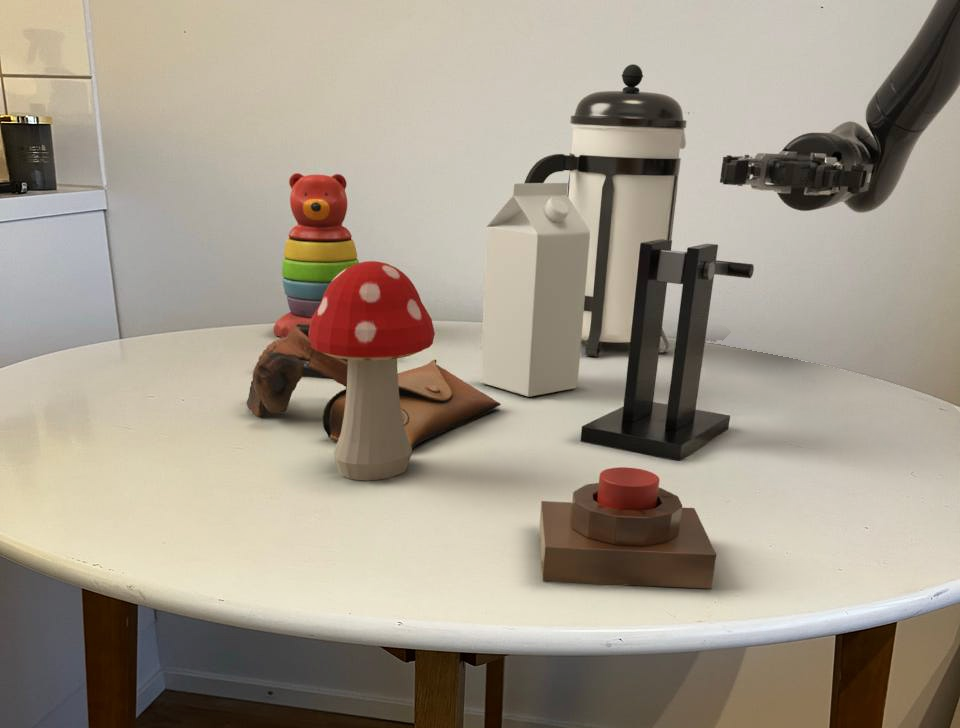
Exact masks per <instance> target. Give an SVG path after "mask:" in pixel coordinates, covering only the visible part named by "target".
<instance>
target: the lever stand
mask: <svg viewBox="0 0 960 728" xmlns="http://www.w3.org/2000/svg"><path fill="white" fill-rule="evenodd" d="M672 245H673V240H672V239H671V240H665V239H660V240H654V241H649V242H643V243H640V252H639V262H638V272H637V281H636V291H635V301H634V310H633V320H632V329H631V339H630V342H629V348H628V349H629V350H628V359H627V368H626V369H627V370H626V379H625V389H624V396H623V397H624V398H623V406H621V407H619V408H617V409H616V410H613V411H611V412H609V413H607V414H604V415H603V416H600V417H598V418H597V419H594V420H591V421H590V422H588V423H586V424H584V425H581V430H580V431H581V433H580V442H583V443H584V442H585V443H588V444H593V445H599V446H604V447H609V448H614V449H618V450H623V451H627V452H633V453H638V454H644V455H649V456H654V457H657V458H663V459H668V460H672V461H673V460H674V461H681V460H683V459H684V458H686V457H688V456H689V455H690V454H692V453H694V452H695V451H697V450H698V449H700V448H702V447H703V446H704V445H706V444H708V443H709V442H711V441H713V440H714V439H716V438H717V437H719V436H721V435H722V434H723V433H725V432H726V431H728V430H729V427H730V421H731V415H729V414H724V413H718V412H713V411H707V410H702V409H697V404H698V403H697V402H698V396H699V395H698V394H699V388H700V380H701V374H702V373H701V372H702V366H703V361H704V360H703V359H704V353H705V352H704V350H705V344H706V337H707V331H708V323H709V315H710V307H711V300H712V293H713V286H714V279H715V275H714V272H715V265H716V260H717V257H718V251H719V244H716V243H703V244H699V245H694V246H689V247H687V248H686V252H687V255H686V263H685V271H684V279H683V284H682V286H681V287H682V289H681V296H680V303H679V313H678V321H677V329H676V336H675V337H676V338H675V344H674V352H673V360H672V362H673V363H672V369H671V376H670V385H669V392H668V393H669V394H668V401H667V404H666V403H662V402H655V401H654V399H655V391H656V390H655V389H656V382H657V381H656V380H657V373H658V364H659V356H660V353H659V349H661V341H662V337H661V331H662V329H663V322H664V313H665V304H666V296H667V287H668V283H666V282H658V281H656V278H657V271H658V264H659V257H660V251H661V250H670V251H672Z"/></svg>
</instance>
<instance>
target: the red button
mask: <svg viewBox="0 0 960 728" xmlns="http://www.w3.org/2000/svg"><path fill="white" fill-rule="evenodd" d="M598 483H599V486H598V497H597V502H598V503H600V504H601V505H603V506H606V507H610V508H614V509H619V510H633V511H642V510H648V509H654V508H655V507H656V505H657V497H658V489H659V488H660V477H659V476H658V475H657V474H656V473H654V472H652V471H649V470H646V469H642V468H637V467H627V466H626V467H625V466H624V467H620V466H619V467H611V468H607V469H604V470H602V471H600V472H599V477H598Z"/></svg>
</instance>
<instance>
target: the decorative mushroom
mask: <svg viewBox="0 0 960 728" xmlns="http://www.w3.org/2000/svg"><path fill="white" fill-rule="evenodd" d="M308 334H309V339H310V344H311V347H312V348H313V349H315V350H317V351H319V352H322V353H324V354H326V355H329V356H332V357H336V358H341V359H348V371H347V391H346V403H345V411H344V418H343V424H342V430H341V434H340V437H339V440H338V441H337V443H336V446H335V448H334V451H333V459H334V461H335V464H336V467H337V470H338V473H339V474H340V475H341V476H342V477H344V478H346V479H350V480H356V481H376V480H384V479H385V480H386V479H390V478H393V477H395V476H399V475H401V474H403V473H404V472H405V471H406V470H407V469H408V466H409V463H410V459H411V456H412V454H413V448H411V445H410V442H409V440H408V437H407V435H406V432H405V429H404V424H403V419H402V413H401V406H400V398H399V387H398V373H399V372H398V359H403V358H406V357H410V356H413V355H416V354H418V353H420V352H421V353H422V351H425V350H427V349H429V348H431V346H432V345H433V344H434V339H435V335H436V332H435V328H434V324H433V319H432V317H431V315H430V314H429V312H428V311H427V309H426V307H425V305H424V304H423V302H422V300H421V297H420V294H419V292H418V290H417V288H416V287H415V284H414V283H413V282H412V280H411V279H410V278H409V277H408V276H407V275H406V274H405V273H404V272H403V271H402V270H400V269H398V268H397V267H396V266H393V265H391V264H389V263H387V262H382V261H376V260H368V261H362V262H359V263H357V264H355V265H352V266H350V267H348V268H346V269H345V270H343V271H342V272H340V273H339V274H338V275H337V276H336V277H335V278H334V279H333V280H332V282H331V283H330V284H329V286H328V287H327V289H326V291H325V293H324V295H323V298H322V301H321V303H320V305H319V306H318V308H317V310H316V311H315V313H314V315H313V316H312V318H311V323H310V327H309V332H308Z"/></svg>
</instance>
